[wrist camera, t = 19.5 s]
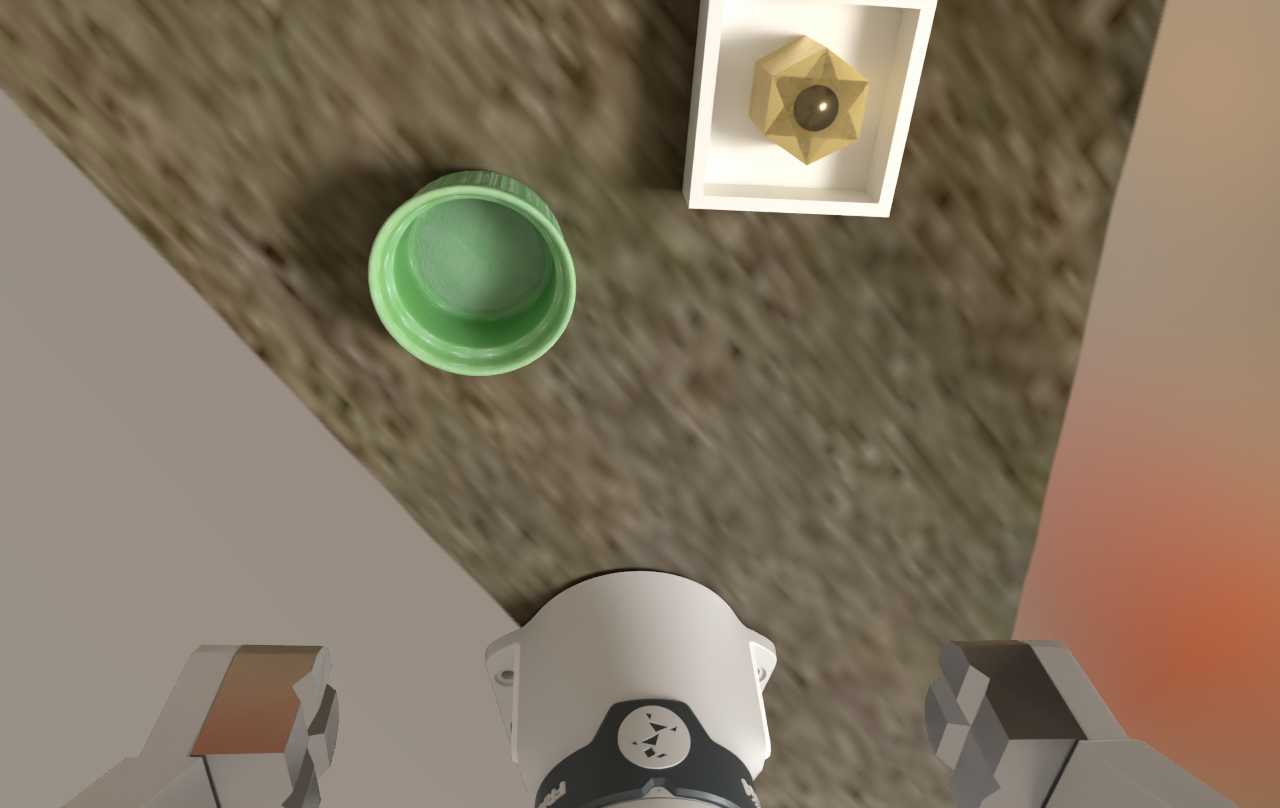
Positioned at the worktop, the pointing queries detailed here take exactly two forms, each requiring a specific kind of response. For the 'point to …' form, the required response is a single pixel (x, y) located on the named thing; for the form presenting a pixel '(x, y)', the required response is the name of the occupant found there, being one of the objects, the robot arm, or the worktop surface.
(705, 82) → the ceramic dish
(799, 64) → the tan faceted block
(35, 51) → the worktop surface
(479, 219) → the ramekin
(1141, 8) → the worktop surface
